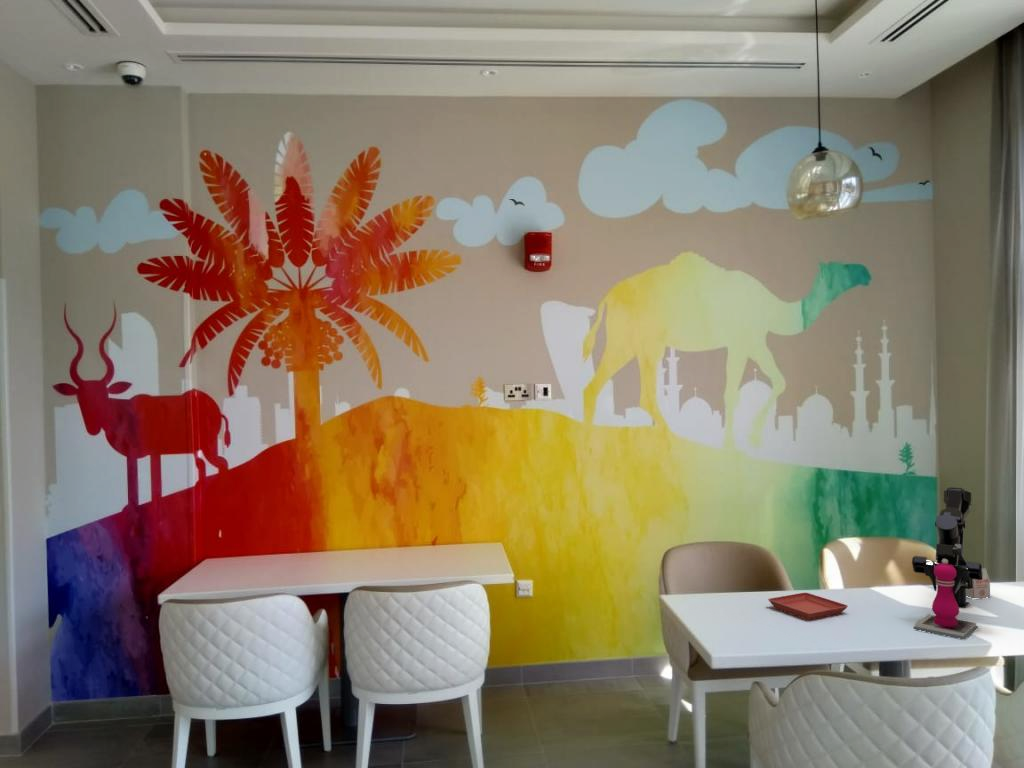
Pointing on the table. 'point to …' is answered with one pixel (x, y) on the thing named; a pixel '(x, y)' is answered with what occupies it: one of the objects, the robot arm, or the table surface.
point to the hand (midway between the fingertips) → (944, 591)
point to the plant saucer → (807, 605)
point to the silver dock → (958, 631)
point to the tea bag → (980, 587)
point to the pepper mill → (945, 595)
